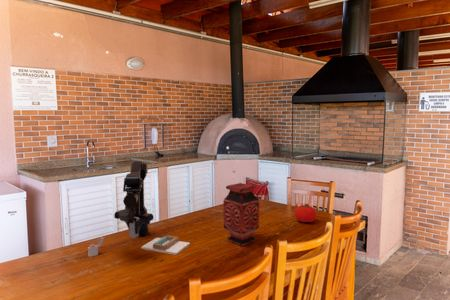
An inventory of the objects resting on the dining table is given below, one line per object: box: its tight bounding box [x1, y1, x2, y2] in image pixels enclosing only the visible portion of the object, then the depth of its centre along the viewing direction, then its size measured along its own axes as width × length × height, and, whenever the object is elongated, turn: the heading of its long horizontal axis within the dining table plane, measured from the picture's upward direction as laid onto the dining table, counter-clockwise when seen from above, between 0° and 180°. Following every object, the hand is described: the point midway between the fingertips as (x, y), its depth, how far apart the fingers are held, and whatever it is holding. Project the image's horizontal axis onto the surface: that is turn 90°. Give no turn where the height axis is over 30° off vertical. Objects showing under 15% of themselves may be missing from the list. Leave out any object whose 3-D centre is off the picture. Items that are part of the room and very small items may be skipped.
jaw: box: [154, 236, 167, 245], centre depth 174 cm, size 2×10×2 cm, turn 159°
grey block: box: [128, 221, 140, 239], centre depth 162 cm, size 3×3×7 cm
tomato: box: [293, 204, 317, 223], centre depth 214 cm, size 13×12×11 cm
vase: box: [222, 182, 260, 247], centre depth 180 cm, size 14×14×30 cm
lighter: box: [87, 236, 105, 258], centre depth 163 cm, size 7×2×8 cm, turn 125°
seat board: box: [141, 235, 191, 256], centre depth 173 cm, size 20×14×3 cm
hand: (134, 233), depth 163 cm, fingers closed on grey block, 3 cm apart
